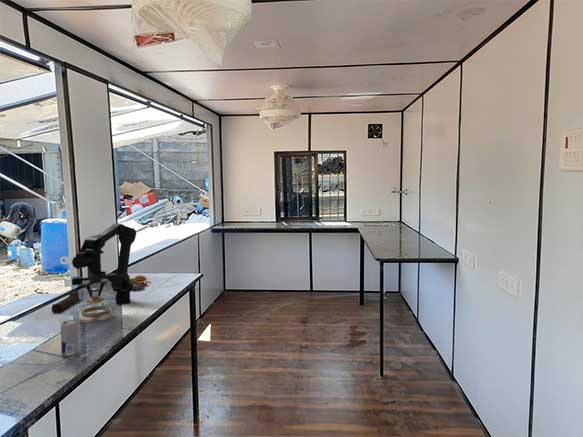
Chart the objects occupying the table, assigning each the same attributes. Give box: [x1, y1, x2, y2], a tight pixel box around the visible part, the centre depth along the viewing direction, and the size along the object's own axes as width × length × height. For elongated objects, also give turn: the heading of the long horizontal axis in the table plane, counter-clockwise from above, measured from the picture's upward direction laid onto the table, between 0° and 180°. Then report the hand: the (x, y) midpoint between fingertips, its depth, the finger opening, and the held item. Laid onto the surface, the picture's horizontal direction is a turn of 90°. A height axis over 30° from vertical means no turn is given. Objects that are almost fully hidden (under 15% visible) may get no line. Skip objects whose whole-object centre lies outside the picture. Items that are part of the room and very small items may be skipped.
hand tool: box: [51, 290, 80, 314], centre depth 197 cm, size 23×5×6 cm, turn 2°
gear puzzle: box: [114, 275, 152, 292], centre depth 239 cm, size 31×16×4 cm, turn 7°
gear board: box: [77, 301, 115, 324], centre depth 185 cm, size 14×20×3 cm
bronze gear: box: [85, 287, 105, 305], centre depth 183 cm, size 8×8×6 cm
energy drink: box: [60, 319, 79, 357], centre depth 143 cm, size 5×5×12 cm
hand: (95, 296), depth 183 cm, fingers closed on bronze gear, 3 cm apart
